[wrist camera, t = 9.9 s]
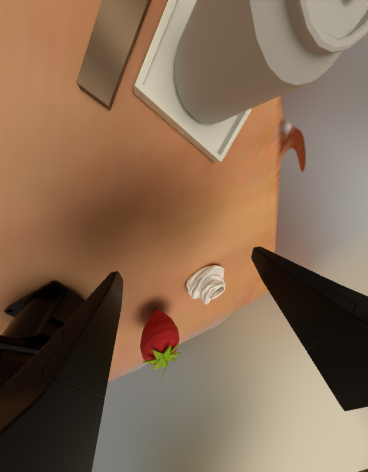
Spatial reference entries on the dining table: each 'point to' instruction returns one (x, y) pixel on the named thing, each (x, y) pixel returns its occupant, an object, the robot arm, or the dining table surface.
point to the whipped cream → (206, 283)
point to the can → (259, 50)
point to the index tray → (166, 92)
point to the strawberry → (159, 340)
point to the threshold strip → (111, 48)
